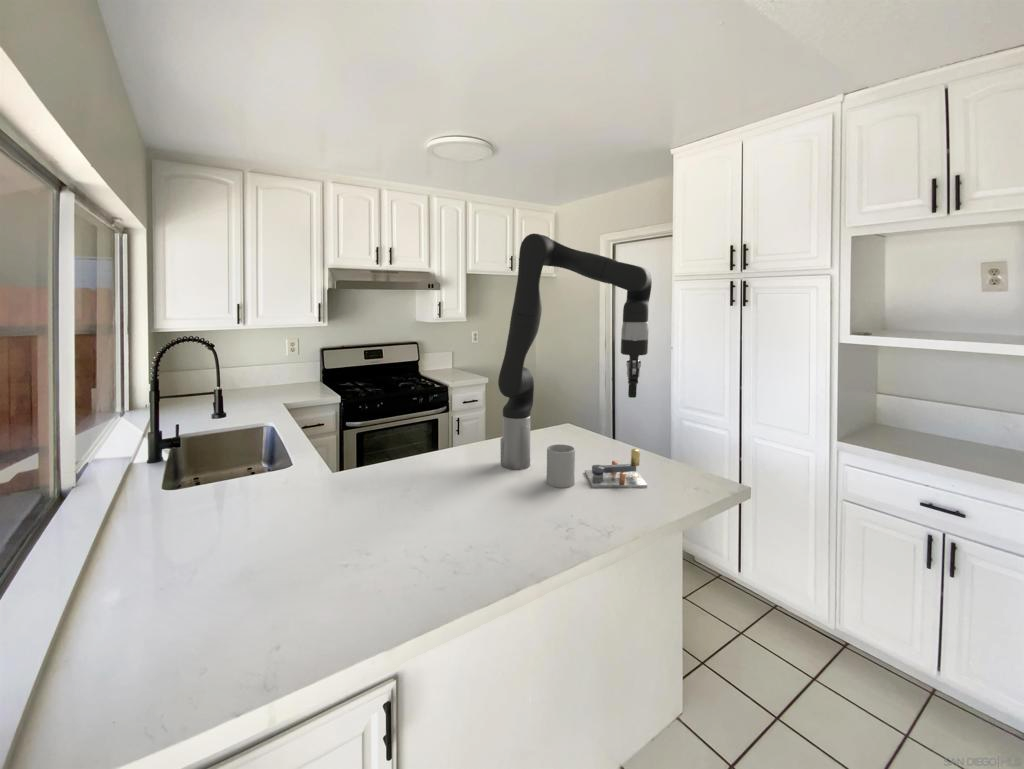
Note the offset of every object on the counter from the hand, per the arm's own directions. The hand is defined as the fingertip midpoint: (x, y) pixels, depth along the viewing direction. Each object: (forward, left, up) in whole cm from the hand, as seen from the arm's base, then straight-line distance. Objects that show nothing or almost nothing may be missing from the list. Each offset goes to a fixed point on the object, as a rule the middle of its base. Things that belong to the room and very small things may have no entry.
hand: (632, 397), depth 142 cm
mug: (-20, -6, -27) cm, 34 cm away
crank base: (-5, +2, -27) cm, 28 cm away
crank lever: (-5, +3, -25) cm, 25 cm away
